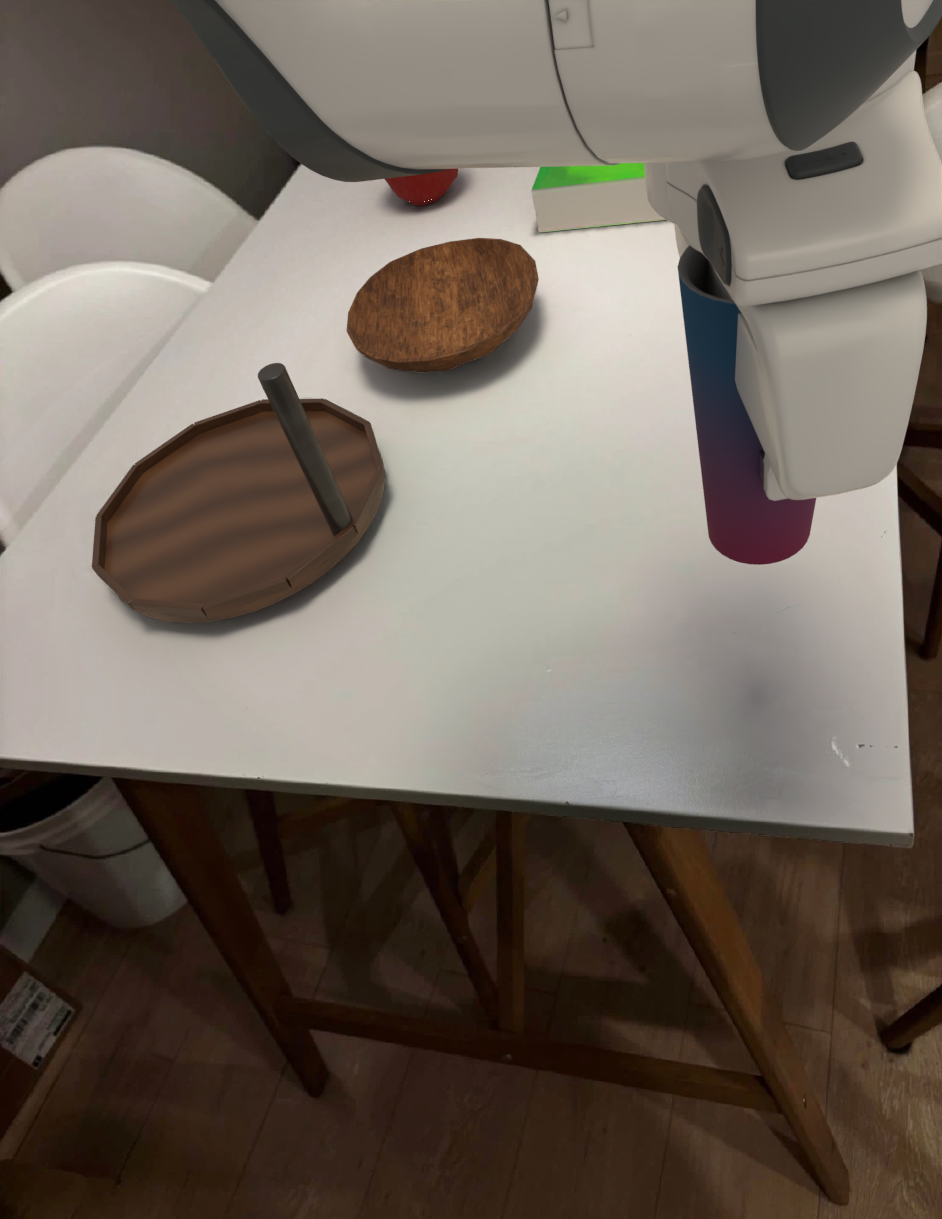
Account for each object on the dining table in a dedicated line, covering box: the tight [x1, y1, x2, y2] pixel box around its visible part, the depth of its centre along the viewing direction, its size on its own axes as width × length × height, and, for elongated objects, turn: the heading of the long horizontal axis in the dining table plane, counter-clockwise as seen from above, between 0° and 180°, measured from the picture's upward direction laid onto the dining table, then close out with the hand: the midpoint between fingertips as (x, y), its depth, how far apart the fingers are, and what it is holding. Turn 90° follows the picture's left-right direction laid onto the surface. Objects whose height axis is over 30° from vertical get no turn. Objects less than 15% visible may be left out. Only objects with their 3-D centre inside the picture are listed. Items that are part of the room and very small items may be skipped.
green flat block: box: [531, 163, 667, 234], centre depth 104 cm, size 25×25×5 cm
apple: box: [384, 169, 459, 207], centre depth 110 cm, size 12×12×13 cm
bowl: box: [345, 237, 540, 374], centre depth 90 cm, size 20×22×5 cm
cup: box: [677, 245, 817, 566], centre depth 40 cm, size 7×7×15 cm
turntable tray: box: [91, 362, 387, 624], centre depth 73 cm, size 26×26×16 cm
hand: (760, 438), depth 41 cm, fingers closed on cup, 6 cm apart
